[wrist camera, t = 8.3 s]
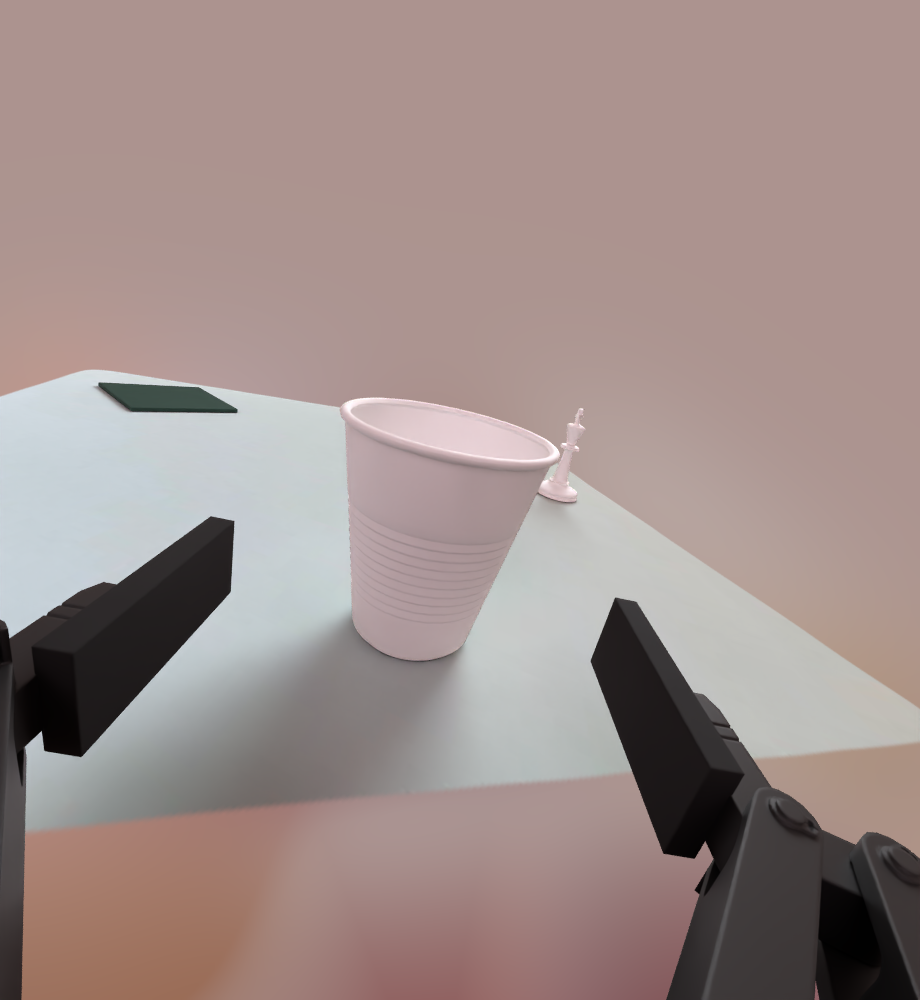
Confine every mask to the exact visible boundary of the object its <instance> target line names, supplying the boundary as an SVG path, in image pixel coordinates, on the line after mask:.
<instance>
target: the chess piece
mask: <svg viewBox="0 0 920 1000" xmlns="http://www.w3.org/2000/svg"><path fill="white" fill-rule="evenodd" d="M583 411H584V409H581V408H579V411H578V414H576V416H575V418H576V421H575V423H573V424H572V423H569V424H567V442H566V443H562V444H561V445H560V447H562V448H564V449H565V450H564V453H563V455H562V458H561V460H560V462H559V464H558V467H557V469H556V471H555V473H554V475H553V477H550V480H543V482H542V484H541V486H540V488H539V490H538V493H540V494H541V495H543V496H545V497H548V498H550V499H553V500H557V501H562V502H574V501H576V500H577V498H576V497H577V492H576V491H575V490H574V489H573V488H571V487H570V486H568V484H569V482H568V473H569V467H570V462H571V458H572V453H573V451H575V452H578V451H579V448H578V447H577V446H576V442H577V441H578V440H579V438H580V437H581V435H582V434H583V433H584V431H585V428H584V427H583V426H581V425H580V421H581V419H582V418H583V416H584V415H583Z"/></svg>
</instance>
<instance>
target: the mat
mask: <svg viewBox="0 0 920 1000" xmlns="http://www.w3.org/2000/svg"><path fill="white" fill-rule="evenodd" d="M99 386H100V387H101V388H102V389H104V390H105V391H106V392H107V393H109V394H110V395H111V396H113V397H114V398H115V399H116V400H118V401H119V402H120V403H122V404H123V405H124V406H125V407H127V408H128V409H129V410H130V411H162V412H237V409H236V408H234V407H232V406H231V405H229V404H227V403H225V402H224V401H222V400H220V399H218V398H217V397H215V396H213V395H211V394H209V393H208V392H206V391H204V390H202V389H201V388H199V387H179V386H159V385H139V384H119V383H99Z"/></svg>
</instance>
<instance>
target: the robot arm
mask: <svg viewBox="0 0 920 1000" xmlns="http://www.w3.org/2000/svg"><path fill="white" fill-rule="evenodd" d="M233 538H234V521H231V520H226V519H221V518H216V517H212V516H211V517H209V518H208V519H207V520H205V521H204V522H202V523H201V524H200V525H198V526H197V527H196V528H194V529H193V530H191V531H190V532H189V533H187V534H186V535H184V536H183V537H182V538H180V539H179V540H178V541H176V542H175V543H173V544H172V545H171V546H169V547H168V548H167V549H165V550H164V551H162V552H161V553H160V554H158V555H157V556H155V557H154V558H153V559H151V560H150V561H149V562H147V563H146V564H144V565H143V566H142V567H140V568H139V569H138V570H136V571H135V572H133V573H132V574H131V575H129V576H128V577H126V578H125V579H124V580H122V581H121V582H120V583H118V584H117V585H116V584H111V583H106V582H103V583H100V584H97V585H95V586H92V587H90V588H87V589H84V590H82V591H80V592H78V593H77V594H75V595H74V596H72V597H71V598H69V599H68V600H66V601H65V602H63V603H62V605H61V606H57V607H56V608H54V609H53V610H51V611H50V612H48V614H47V616H42V617H41V618H39V619H38V620H36V621H35V622H33V623H32V624H30V625H29V626H27V627H26V628H24V629H23V630H22V631H20V632H19V633H17V634H16V635H14V636H13V637H11V638H10V639H9V633H8V628H7V626H6V623H5V622H4V621H2V620H0V1000H21V993H22V992H21V991H22V945H23V943H22V942H23V897H24V850H25V804H26V750H25V746H26V745H27V744H28V743H29V742H30V741H31V740H32V739H34V738H35V737H36V736H37V735H38V734H39V733H40V732H41V731H42V736H43V743H44V751H47V752H53V753H59V754H65V755H71V756H77V757H82V756H83V755H84V754H85V753H86V752H87V750H88V749H89V748H90V747H91V746H92V745H93V744H94V743H95V742H96V740H97V739H98V738H99V737H100V736H101V735H102V734H103V733H104V732H105V731H106V729H107V728H108V727H109V726H110V725H111V724H112V723H113V722H114V721H115V719H116V718H117V717H118V716H119V715H120V714H121V713H122V712H123V711H124V710H125V708H126V707H127V706H128V705H129V704H130V703H131V702H132V701H133V700H134V698H135V697H136V696H137V695H138V694H139V693H140V692H141V691H142V690H143V688H144V687H145V686H146V685H147V684H148V683H149V682H150V681H151V680H152V679H153V677H154V676H155V675H156V674H157V673H158V672H159V671H160V670H161V669H162V667H163V666H164V665H165V664H166V663H167V662H168V661H169V660H170V659H171V658H172V656H173V655H174V654H175V653H176V652H177V651H178V650H179V649H180V648H181V646H182V645H183V644H184V643H185V642H186V641H187V640H188V639H189V638H190V637H191V635H192V634H193V633H194V632H195V631H196V630H197V629H198V628H199V627H200V625H201V624H202V623H203V622H204V621H205V620H206V619H207V618H208V617H209V615H210V614H211V613H212V612H213V611H214V610H215V609H216V608H217V607H218V606H219V604H220V603H221V602H222V601H223V600H224V599H225V598H226V597H227V596H228V594H229V593H230V592H231V576H232V557H233ZM591 663H592V666H593V669H594V671H595V674H596V677H597V679H598V682H599V685H600V687H601V690H602V692H603V695H604V698H605V700H606V703H607V706H608V708H609V711H610V714H611V716H612V719H613V722H614V724H615V727H616V730H617V732H618V735H619V737H620V740H621V743H622V745H623V748H624V751H625V753H626V756H627V759H628V761H629V764H630V767H631V769H632V772H633V775H634V777H635V780H636V782H637V785H638V788H639V790H640V793H641V796H642V798H643V801H644V803H645V806H646V809H647V811H648V814H649V817H650V819H651V822H652V825H653V827H654V830H655V832H656V835H657V838H658V841H659V843H660V846H661V849H662V851H663V853H664V854H669V855H675V856H681V857H687V858H693V859H694V858H695V857H696V856H697V854H698V852H699V851H700V849H701V847H702V846H703V844H704V842H705V841H706V843H707V845H708V848H709V849H710V852H711V854H712V856H713V858H714V859H713V861H712V863H711V864H710V866H709V868H708V869H707V871H706V872H705V874H704V876H703V877H702V879H701V881H700V882H699V884H698V885H697V887H696V889H695V891H696V892H697V893H698V894H700V895H699V898H698V901H697V904H696V907H695V910H694V913H693V917H692V920H691V923H690V926H689V929H688V933H687V936H686V939H685V942H684V945H683V949H682V952H681V955H680V958H679V961H678V964H677V967H676V970H675V974H674V977H673V980H672V983H671V986H670V989H669V993H668V996H667V999H666V1000H814V998H815V981H816V985H817V989H818V995H819V1000H920V858H918V857H917V856H916V855H915V854H914V853H912V852H911V851H910V850H909V849H907V848H906V847H904V846H903V845H901V844H899V843H898V842H896V841H894V840H893V839H891V838H889V837H886V836H884V835H881V834H879V833H873V832H867V833H866V834H865V835H863V836H862V838H861V839H860V840H859V842H858V843H857V844H856V845H855V844H852V843H850V842H848V841H845V840H843V839H841V838H839V837H837V836H834V835H832V834H830V833H828V832H826V831H823V830H822V829H821V828H820V826H819V824H818V823H817V821H816V820H815V818H814V817H813V816H812V815H811V814H810V813H809V812H808V811H807V809H805V807H804V806H803V805H801V804H800V803H799V802H797V801H796V800H795V799H793V798H792V797H790V796H789V795H787V794H785V793H783V792H781V791H779V790H777V789H774V788H772V787H771V786H770V784H769V783H768V781H767V780H766V778H765V777H764V775H763V774H762V772H761V771H760V769H759V768H758V766H757V765H756V763H755V762H754V760H753V759H752V757H751V756H750V754H749V753H748V751H747V750H746V748H745V747H744V745H743V744H742V742H739V738H738V736H737V735H736V733H735V732H734V730H733V729H731V728H730V725H729V723H728V722H727V720H726V719H725V717H724V716H723V714H722V713H721V711H720V710H719V709H718V708H717V707H716V706H715V705H714V704H713V703H712V702H711V701H710V700H709V699H708V698H707V697H706V696H705V695H703V694H698V693H693V691H692V690H691V688H690V686H689V685H688V683H687V682H686V680H685V678H684V677H683V675H682V674H681V672H680V671H679V669H678V667H677V666H676V664H675V663H674V661H673V659H672V658H671V656H670V655H669V653H668V651H667V650H666V648H665V647H664V645H663V644H662V642H661V640H660V639H659V637H658V636H657V634H656V632H655V631H654V629H653V628H652V626H651V624H650V623H649V621H648V620H647V618H646V617H645V615H644V613H643V612H642V610H641V609H640V607H639V605H638V604H637V602H635V601H630V600H625V599H620V598H615V599H614V602H613V605H612V607H611V610H610V612H609V615H608V617H607V620H606V623H605V625H604V628H603V630H602V633H601V635H600V638H599V641H598V643H597V646H596V648H595V651H594V653H593V656H592V659H591Z"/></svg>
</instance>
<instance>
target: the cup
mask: <svg viewBox="0 0 920 1000" xmlns="http://www.w3.org/2000/svg"><path fill="white" fill-rule="evenodd" d="M340 413H341V417H342V418H343V419H344V421H345V429H346V457H347V484H348V495H349V498H348V502H349V524H350V527H349V531H350V552H351V554H350V559H351V565H350V566H351V579H352V580H351V597H352V618H353V623H354V626H355V628H356V630H357V632H358V633H359V634H360V635H361V637H362V638H363V639H364V640H366V641H367V642H368V643H369V644H370V645H372V646H373V647H374V648H376V649H377V650H379V651H381V652H383V653H385V654H387V655H390V656H392V657H395V658H399V659H404V660H412V661H427V660H432V659H437V658H440V657H443V656H446V655H449V654H451V653H453V652H454V651H456V650H457V649H459V648H460V647H461V646H462V645H463V644H464V642H465V640H466V638H467V636H468V634H469V632H470V630H471V628H472V626H473V624H474V622H475V620H476V618H477V616H478V614H479V612H480V609H481V607H482V605H483V603H484V601H485V599H486V597H487V595H488V593H489V591H490V589H491V587H492V585H493V582H494V580H495V578H496V576H497V574H498V572H499V570H500V568H501V566H502V564H503V562H504V560H505V558H506V556H507V554H508V552H509V549H510V547H511V545H512V543H513V541H514V539H515V537H516V535H517V532H518V531H519V529H520V527H521V525H522V523H523V521H524V519H525V517H526V515H527V513H528V511H529V509H530V506H531V504H532V502H533V500H534V498H535V496H536V494H537V492H538V490H539V488H540V486H541V484H542V482H543V480H544V478H545V476H546V474H547V472H548V469H549V467H550V466H552V465H554V464H556V463H557V462H558V460H559V458H560V453H559V451H558V449H557V448H556V447H555V446H554V445H553V444H552V443H550V442H549V441H547V440H546V439H544V438H542V437H540V436H538V435H536V434H534V433H532V432H530V431H527V430H525V429H523V428H520V427H518V426H515V425H512V424H509V423H507V422H504V421H501V420H497V419H494V418H491V417H488V416H484V415H480V414H477V413H473V412H469V411H465V410H461V409H456V408H451V407H447V406H442V405H437V404H431V403H425V402H419V401H411V400H403V399H392V398H361V399H353V400H350V401H348V402H345V403H344V404H343V405H342V406H341V408H340Z"/></svg>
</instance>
